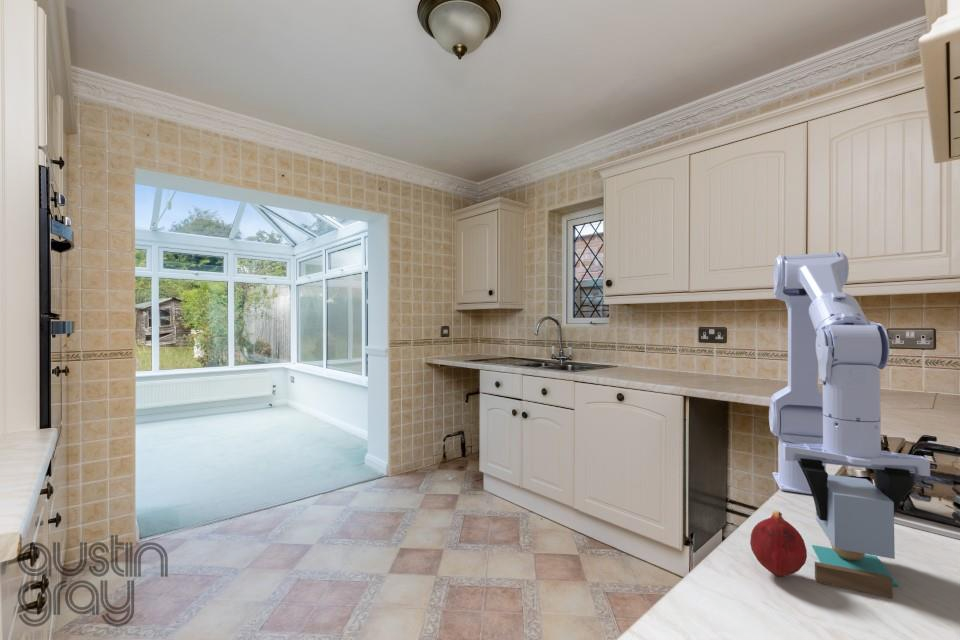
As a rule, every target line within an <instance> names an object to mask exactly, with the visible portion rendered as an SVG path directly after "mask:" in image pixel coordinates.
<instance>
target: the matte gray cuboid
mask: <svg viewBox="0 0 960 640" xmlns="http://www.w3.org/2000/svg"><path fill="white" fill-rule="evenodd" d="M826 503H827V521H824V520H820V519H819V517H818V516H817V513H816V512H815V518H816V522H817V524H818V525H819V526H820V528H821V529H822V531H823V532H824V535H825V536H826V537H827V539H828V540H829V543H830V544H831V543H832V545H833V546H834V548H835V549H841V550H847V551H852V552H858V553H864V554H866V555H872V556H877V557H882V558H887V559H893V560H895V557H896V556H895V552H896V551H895V549H896V547H895V514H894V502H893V501H892V500H890V499H889V498H888V497H887V496H886V495H885V494H883V493H882V492H881V491H880V490H879V489H878V488H876V485H875V484H873V483H872V482H871V481H870V480H868V479H867V478H860V477H854V476H853V477H851V476H844V475H835V474H828V480H827V490H826Z"/></svg>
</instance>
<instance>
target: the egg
mask: <svg viewBox="0 0 960 640" xmlns="http://www.w3.org/2000/svg"><path fill="white" fill-rule="evenodd" d="M830 546H831V548H833V550H834V551H835V552H836V553H837V554H838V555H839V556H841V557H842V558H844V559H847V560H859V559H861V558H862V557H863V556H864V555H865V554H864V553H858V552H852V551H847V550H841V549H835V548H834V546H833V545H832V543H831V542H830Z"/></svg>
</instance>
